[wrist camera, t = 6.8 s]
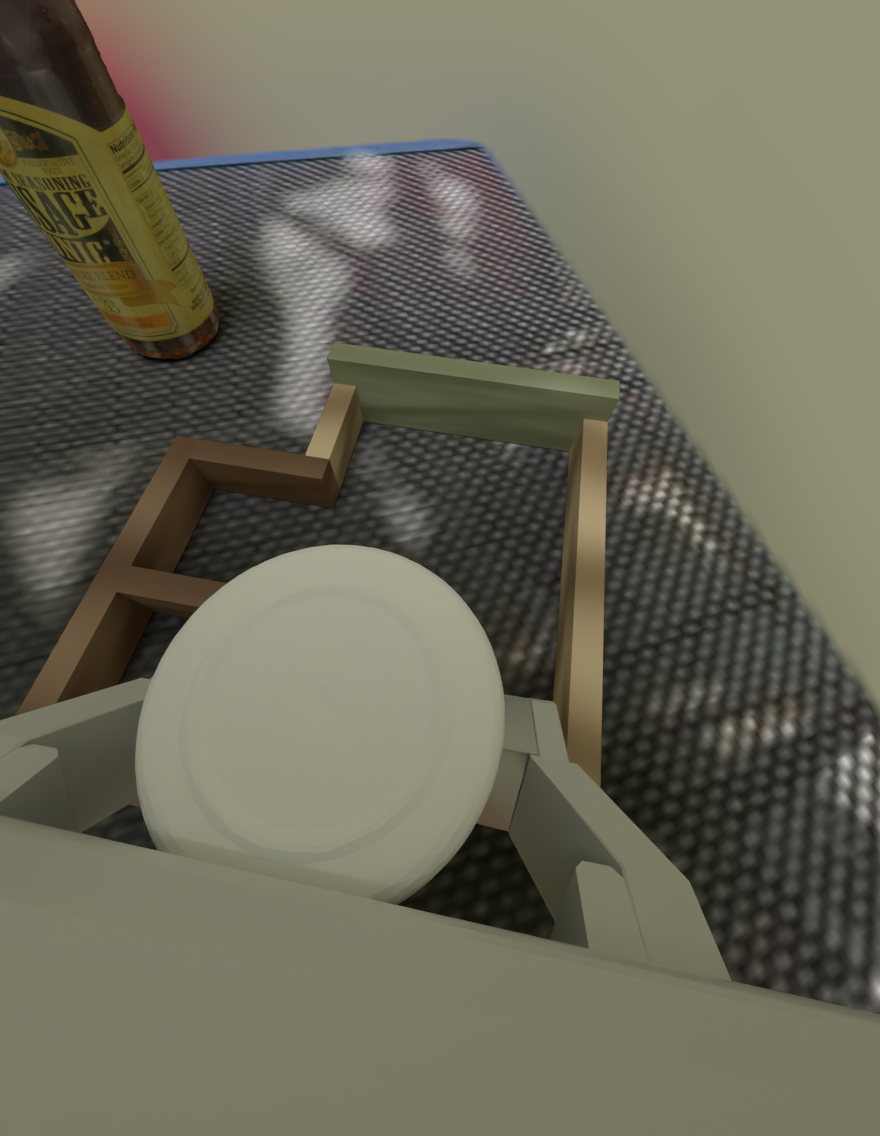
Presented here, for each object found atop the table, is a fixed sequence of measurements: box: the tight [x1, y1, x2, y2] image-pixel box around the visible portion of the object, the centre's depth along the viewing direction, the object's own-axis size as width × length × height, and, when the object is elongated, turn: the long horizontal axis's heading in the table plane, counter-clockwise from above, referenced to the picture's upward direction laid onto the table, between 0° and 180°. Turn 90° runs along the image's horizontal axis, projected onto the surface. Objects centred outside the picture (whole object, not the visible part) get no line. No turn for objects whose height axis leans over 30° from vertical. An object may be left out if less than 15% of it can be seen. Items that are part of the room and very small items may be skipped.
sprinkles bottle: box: [135, 545, 505, 905], centre depth 11 cm, size 5×5×14 cm
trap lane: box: [15, 343, 619, 807], centre depth 18 cm, size 21×21×4 cm
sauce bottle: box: [0, 0, 220, 359], centre depth 18 cm, size 6×6×20 cm
